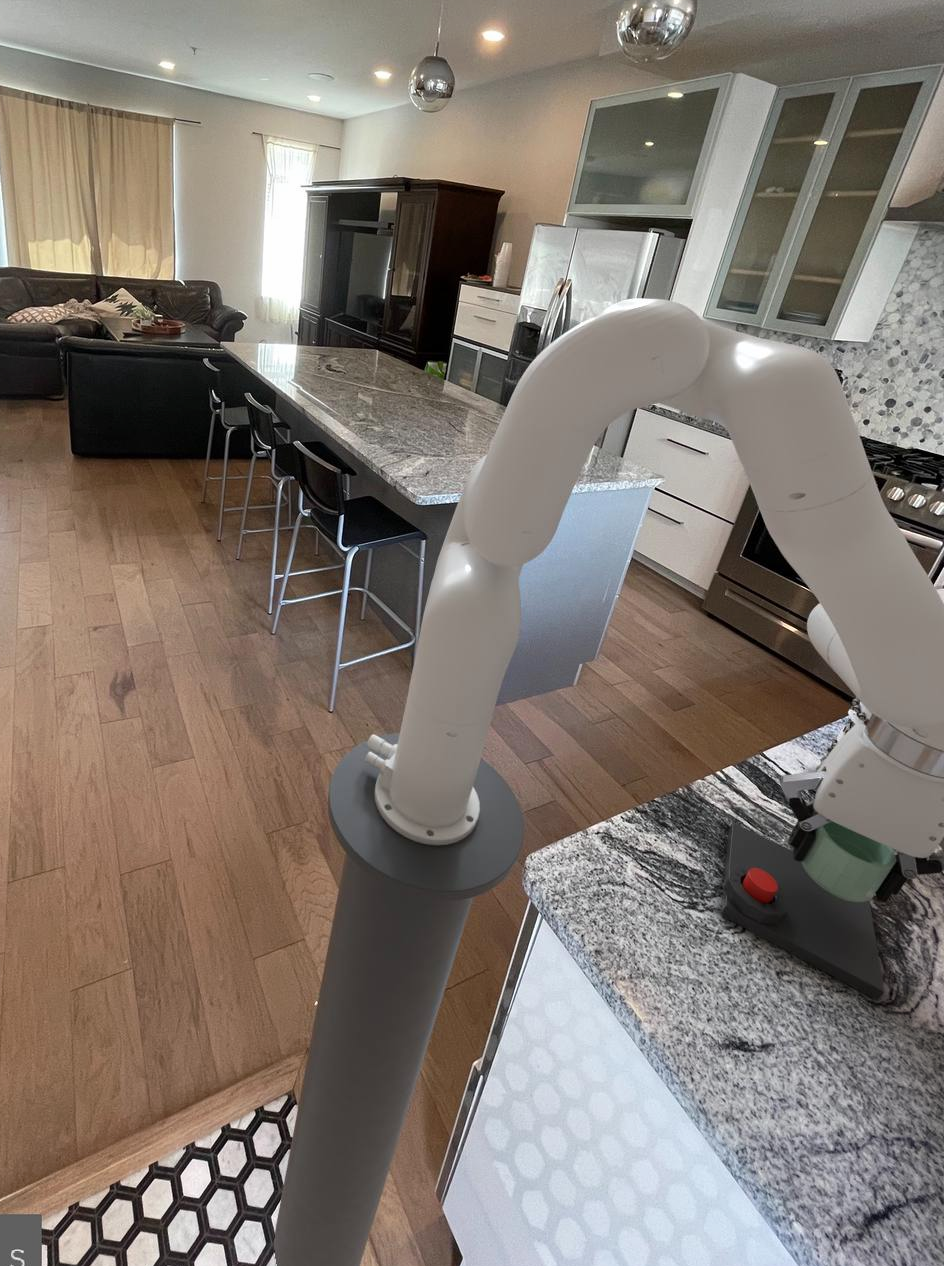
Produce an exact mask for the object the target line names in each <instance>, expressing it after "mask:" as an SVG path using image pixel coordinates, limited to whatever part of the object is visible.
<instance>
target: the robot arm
mask: <svg viewBox="0 0 944 1266" xmlns="http://www.w3.org/2000/svg"><path fill="white" fill-rule="evenodd" d="M657 404H660V405H663V406H666V407H669V408H672V409H674V410H678V411H680V412H684V413H686V414H690V415H693V416H696V417H699V418H701V419H704V420H708V421H711V422H714V423H717V424H718V425H720V426H721V427H723V428H725V430H726V431H727V433H728V435H729V438H730V439H731V442H732V444H733V447H734V450H735V452H736V455H737V458H738V461H739V463H740V464H741V465H742V468H743V471H744V473H745V476H746V479H747V480H748V483H749V485H750V488H751V490H752V493H753V495H754V497H755V501H756V504H757V506H758V509H759V512H760V514H761V517H762V519H763V522H764V524H765V527H766V529H767V531H768V534H769V536H770V537H771V539H772V540H773V542H774V544H775V545H776V547H777V548H778V550H779V552H780V553H781V555H782V556H783V558H784V559H785V560H786V562H787V563H788V564H789V565H790V567H791V568H792V569H793V570H794V571H795V573H797V575H798V576H799V577H800V579H801V580H802V581H803V582H804V583H805V584H806V586H807V587H808V588H809V590H810V591H811V593H812V594H813V595H814V597H815V598H816V599H817V601H818V604H817V605H816V606H815V607H814V608H813V609H812V610H811V612H810V613H809V615H808V618H807V621H806V630H807V635H808V638H809V640H810V643H811V644H812V646H813V648H814V649H815V650H816V652H817V653H818V654H819V656H820V657H822V659H823V660H824V662H825V663H826V664H827V665H828V667H830V668H831V670H832V671H833V672H834V673H835V674H837V675H838V677H839V678H840V679H841V681H842V682H843V683H844V684H845V685H846V686H847V687H848V688H849V690H850V691H851V692H852V693H853V695H855V698H856V697H857V698H858V699H859V700H860V701H861V703H862V704H863V705H864V706H865V707H866V708H867V709H868V710H869V711H871V712H872V713H873V714H872V716H871V718H870V719H869V721H868V723H867V725H866V726H865V725H862V724H856V725H854V726H853V727H852V728H851V729H850V730H849V731H848V732H847V733H846V734H845V735H844V736H843V737H842V738H841V740H840V741H839V742H838V743H837V744H836V746H835V747H834V748H833V750H832V751H831V752H830V754H829V755H828V756H827V758H826V759H825V761H824V762H823V763H822V765H821V766H820V768H819V770H818V771H811V772H802V773H793V774H784V775H781V776H780V777H779V787H780V788H781V790H782V792H783V794H784V797H785V799H786V800H787V802H788V805H789V807H790V809H791V811H792V813H793V814H794V817H795V818H796V820H797V821H796V823H795V825H794V827H793V828H792V831H791V832H790V833H789V837H788V845H789V846H790V847H792V851H793V859H794V860H796V861H798V862H800V861H801V862H802V861H803V859H804V857H805V855H806V854H807V852H808V850H809V848H810V847H811V845H812V843H813V841H814V840H815V829H816V828H819V827H821V826H823V825H825V824H827V823H829V822H832V821H833V822H835V823H837V824H839V825H841V826H843V827H846V828H848V829H850V830H852V831H854V832H857V833H859V834H861V835H863V836H866V837H868V838H870V839H872V840H874V841H877V842H879V843H881V844H883V845H886V846H888V847H890V848H892V849H893V850H895V851H896V852H897V854H895V856H896V860H897V861H896V863H895V865H894V866H893V868H892V869H891V871H890V872H889V874H888V875H887V877H886V878H885V880H884V882H883V883H882V885H881V886H880V888H879V889H878V891H877V892H876V894H875V898H876V899H877V900H878V901H879V902H881V903H883V904H886V903H887V902H888V900H889V899H890V897H891V895H894V896H897V895H898V894H899V893H900V891H901V890H902V889H903V887H904V885H905V883H907V881H908V879H909V880H916V879H917V878H918V876H919V875H921V876H922V875H932V874H940V873H942V872H943V871H944V601H943V599H942V598H941V596H940V593H939V592H938V590H937V589H936V587H935V585H934V584H933V582H932V580H931V578H930V577H929V575H928V573H927V572H926V570H925V569H924V568H923V567H924V566H922V564H921V563H920V561H919V559H918V558H917V556H916V554H915V552H914V551H913V549H912V548H911V546H910V545H909V542H908V540H907V539H906V537H905V535H904V533H903V532H902V530H901V529H900V527H899V526H898V524H897V523H896V521H895V519H894V518H893V516H892V515H891V514H890V511H889V510H888V508H887V506H886V505H885V503H884V501H883V499H882V496H881V493H880V490H879V488H878V485H877V481H876V479H875V476H874V473H873V470H872V469H871V464H870V462H869V460H868V457H867V454H866V450H865V448H864V445H863V442H862V439H861V436H860V434H859V430H858V428H857V425H856V422H855V419H854V416H853V413H852V411H851V407H850V404H849V401H848V398H847V395H846V393H845V391H844V387H843V385H842V382H841V381H840V377H839V376H838V373H837V371H836V369H835V368H834V367H833V366H832V364H831V363H830V361H829V360H828V359H826V358H825V357H824V356H823V355H821V354H820V353H818V351H817V352H816V351H815V350H813V349H810V348H807V347H805V346H801V345H797V344H791V343H786V342H781V341H777V340H772V339H767V338H763V337H758V336H755V335H751V334H748V333H744V332H740V331H737V330H733V329H730V328H727V327H724V326H721V325H718V324H716V323H712V322H709V321H707V320H704V319H701V317H700V316H699V315H698V314H697V313H696V312H694V310H692V309H691V308H690V307H688V306H687V305H684V304H681V303H680V302H677V301H672V300H668V299H661V298H645V297H644V298H640V297H639V298H638V297H636V298H635V297H634V298H628V299H623V300H621V301H618V302H615V303H613V304H612V305H610V306H607V307H606V308H605V309H604V310H603V311H601V312H600V313H599V314H597V316H594V317H592V318H589V319H587V320H585V321H583V322H581V323H578V325H576V326H574V327H572V328H570V329H569V330H567V331H566V332H564V333H563V334H562V335H559V337H557V338H556V339H555V340H553V341H552V342H551V343H549V344H548V345H547V346H546V347H545V348H544V349H543V350H542V351H541V352H539V354H538V355H536V357H535V358H534V359H533V360H532V362H530V364H529V365H528V367H526V369H525V371H524V372H523V374H522V376H521V377H520V378H519V381H518V382H517V384H516V386H515V388H514V390H513V392H512V394H511V397H510V399H509V401H508V404H507V406H506V408H505V410H504V412H503V415H502V417H501V420H500V423H499V425H498V427H497V429H496V431H495V434H494V436H493V439H492V441H491V444H490V446H489V449H488V451H487V453H486V454H485V455H483V456H482V457H481V458H480V459H479V460H478V461H477V462H476V463H475V464H474V466H473V467H472V469H471V470H470V472H469V474H468V476H467V478H466V481H465V483H464V486H463V489H462V491H461V495H460V497H459V500H458V501H457V502H458V503H457V505H456V507H455V510H454V512H453V516H452V519H451V521H450V524H449V526H448V530H447V533H446V534H445V538H444V541H443V543H442V546H441V549H440V552H439V555H438V558H437V561H436V565H435V569H434V572H433V576H432V580H431V583H430V587H429V592H428V594H427V599H426V603H425V607H424V611H423V616H422V620H421V625H420V631H419V637H418V641H417V642H418V643H417V647H416V651H415V652H416V653H415V657H414V663H413V668H412V671H411V676H410V681H409V686H408V693H407V697H406V701H405V706H404V711H403V717H402V721H401V725H400V731H399V733H400V735H399V740H398V744H395V745H394V746H393V745H391V744H389V743H387V742H386V741H385V740H384V739H382V738H380V737H378V736H379V735H377V734H375V733H372V734H371V735H370V736H369V738H368V739H367V740H368V742H367V745H366V748H368V749H369V750H371V751H373V752H375V753H376V754H378V755H382V756H383V757H385V758H387V759H386V760H383V759H381V758H380V757H379V756H377V755H375V754H374V753H372V752H369V753H368V754H367V756H366V758H365V762H367V763H368V764H370V765H372V766H373V767H376V768H378V769H380V774H379V776H378V778H377V782H376V786H375V792H374V794H375V802H376V805H377V808H378V810H379V812H380V814H381V816H382V817H383V818H384V820H385V821H386V822H387V823H388V824H389V825H390V826H391V827H392V828H393V829H394V830H395V831H397V832H398V833H400V834H401V835H403V836H405V837H407V838H409V839H411V840H413V841H416V842H420V843H423V844H428V845H448V844H452V843H456V842H458V841H460V840H462V839H464V838H465V837H467V836H468V835H469V834H470V833H471V832H472V830H473V829H474V828H475V826H476V823H477V820H478V817H479V812H480V802H479V798H478V795H477V793H476V791H475V789H474V787H473V784H474V781H475V777H476V774H477V770H478V766H479V763H480V759H481V758H482V755H483V752H484V749H485V744H486V741H487V737H488V734H489V730H490V726H491V723H492V721H493V716H494V713H495V707H496V705H497V701H498V697H499V693H500V690H501V687H502V685H503V681H504V678H505V675H506V672H507V670H508V667H509V664H510V662H511V660H512V657H513V655H514V653H515V651H516V647H517V644H518V640H519V636H520V633H521V632H520V631H521V625H522V624H521V623H522V602H521V589H520V575H521V572H522V569H523V567H524V564H527V563H529V562H531V561H533V560H534V559H536V558H538V556H540V555H541V554H542V553H544V551H545V550H546V549H547V547H548V546H549V545H550V543H551V542H552V540H553V538H554V536H555V535H556V533H557V530H558V528H559V524H560V522H561V520H562V517H563V514H564V511H565V509H566V506H567V505H568V502H569V499H570V497H571V495H572V493H573V490H574V489H575V487H576V484H577V481H578V479H579V476H580V474H581V472H582V469H583V468H584V466H585V463H586V462H587V460H588V458H589V456H590V454H591V453H592V450H593V449H594V447H595V444H596V443H597V441H598V440H599V438H600V436H601V435H602V434H603V432H605V430H606V429H607V428H608V427H609V426H610V425H611V424H613V422H615V421H616V420H618V419H619V418H620V417H622V416H623V415H625V414H627V413H629V412H631V411H633V410H636V409H639V408H641V407H647V406H652V405H657ZM811 790H813V791H815V795H814V799H813V800H810V801H808V802H806V801H805V799H804V797H803V795H802V794H801V793H800V792H801V791H811ZM938 847H939V848H941V850H937V849H938ZM936 850H937V851H936ZM935 851H936V852H935Z"/></svg>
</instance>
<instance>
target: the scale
mask: <svg viewBox="0 0 944 1266" xmlns="http://www.w3.org/2000/svg"><path fill="white" fill-rule="evenodd" d="M726 845H727V846H726V854H725V864H724V865H725V867H724V876H723V888H722V897H721V898H722V899H721V909H720V915H721V916H722V917H724V918H726V919H727V920H730V921H731V922H733V923H736V924H737V925H738V926H740V927H742V928H744V929H746V930H748V931H750V932H751V933H753V934H755V935H757V936H759V937H761V938H762V939H764V940H765V941H767V942H769V943H771V944H773V945H775V946H777V947H779V948H780V949H783V950H784V951H786V952H788V953H790V954H792V955H793V956H795V957H797V958H799V959H801V960H802V961H804V962H805V963H808V964H809V965H811V966H814V967H815V968H816V969H819V970H821V971H823V972H824V973H826V974H828V975H830V976H832V977H833V978H835V979H838V980H839V981H841V982H843V983H845V984H846V985H848V986H850V987H852V988H854V989H856V990H857V991H859V992H861V993H863V994H865V995H866V996H869V997H870V998H872V999H873V1000H876V1001H879V1000H880V999H881V997H882V996H883V995H884V994H885V988H884V987H885V986H884V982H883V975H882V968H881V963H880V957H879V951H878V945H877V938H876V932H875V927H874V920H873V915H872V914H873V913H872V908H871V903H870V901H871V900H870V901H865V902H850V901H847V900H844V899H841V898H839V897H837V896H835V895H833V894H831V893H829V892H828V891H826V890H825V889H823V888H822V887H821V886H819V885H818V884H817V883H816V882H815V881H814V880H813V879H812V878H811V877H810V876H809V875H808V873H807V872H806V870H805V869H804V867H803V864H802V862H801V861H800V862H798V861H796V860H794V859H793V849H789V848H788V847H786V846H783V845H781V844H780V843H777V842H776V841H773V840H771V839H769V838H767V837H765V836H763V835H761V834H758V833H757V832H754V831H752V830H750V829H748V828H746V827H744V826H742V825H739V824H738V823H736V822H732V823H731V825H730V826H729V829H728V834H727V844H726ZM752 868H757V869H761V870H763V871H765V872H766V873H768V874H769V875H770V876H772V877H773V878H774V880H775V881H776V883H777V885H778V890H777V892H776V893H775V895H774V897H773V898H772V900H771V902H769V903H762V902H760V901H758V900H756V899H754V898H752V897H751V896H750V895H749V894H748V893H747V892H746V891H745V890H744V888H743V881H744V879H745V877H746V875H747V873H748V871H749V870H750V869H752Z"/></svg>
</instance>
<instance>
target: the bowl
mask: <svg viewBox="0 0 944 1266" xmlns="http://www.w3.org/2000/svg"><path fill="white" fill-rule="evenodd" d="M895 855H896V852H895V851H894V849H892V848H890V847H888V846H886V845H883V844H881V843H879V842H877V841H874V840H872V839H870V838H868V837H866V836H863V835H861V834H859V833H857V832H854V831H852V830H850V829H848V828H846V827H843V826H841V825H839V824H837V823H835V822H833V821H832V822H829V823H827V824H825V825H823V826H821V827H819V828H816V829H815V840H814V841H813V843H812V845H811V847H810V848H809V850H808V852H807V854H806V855H805V857H804V859H803V861H802V864H803V867H804V869H805V870H806V872H807V873H808V875H809V876H810V877H811V878H812V879H813V880H814V881H815V882H816V883H817V884H818V885H819V886H821V887H822V888H823V889H825V890H826V891H828V892H829V893H831V894H833V895H835V896H837V897H839V898H841V899H844V900H847V901H850V902H865V901H872V900H873V898H874V897H875V896H876V892H877V891H878V889H879V888H880V886H881V885H882V883H883V882H884V880H885V878H886V877H887V875H888V874H889V872H890V871H891V869H892V868H893V866H894V865H895V863H896V861H897V860H896V856H895Z"/></svg>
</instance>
